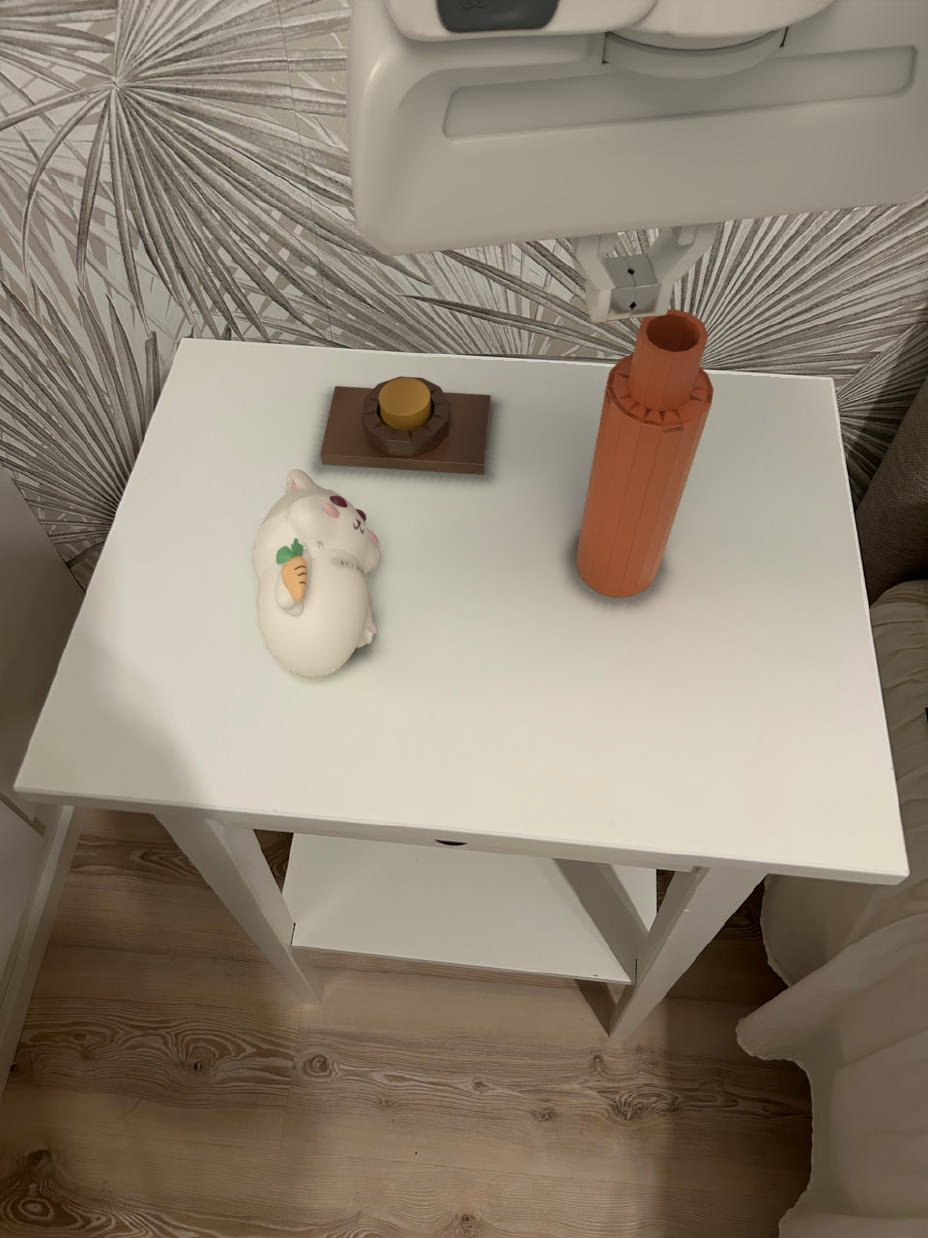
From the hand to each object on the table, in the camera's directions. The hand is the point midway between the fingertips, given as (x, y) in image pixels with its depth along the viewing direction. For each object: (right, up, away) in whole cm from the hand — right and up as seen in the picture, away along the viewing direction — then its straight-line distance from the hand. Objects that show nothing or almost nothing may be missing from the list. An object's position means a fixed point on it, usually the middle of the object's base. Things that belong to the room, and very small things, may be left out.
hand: (624, 309), depth 35 cm
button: (-11, +4, +36) cm, 37 cm away
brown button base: (-11, +3, +38) cm, 39 cm away
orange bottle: (+5, -8, +31) cm, 33 cm away
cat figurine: (-17, -11, +30) cm, 36 cm away
